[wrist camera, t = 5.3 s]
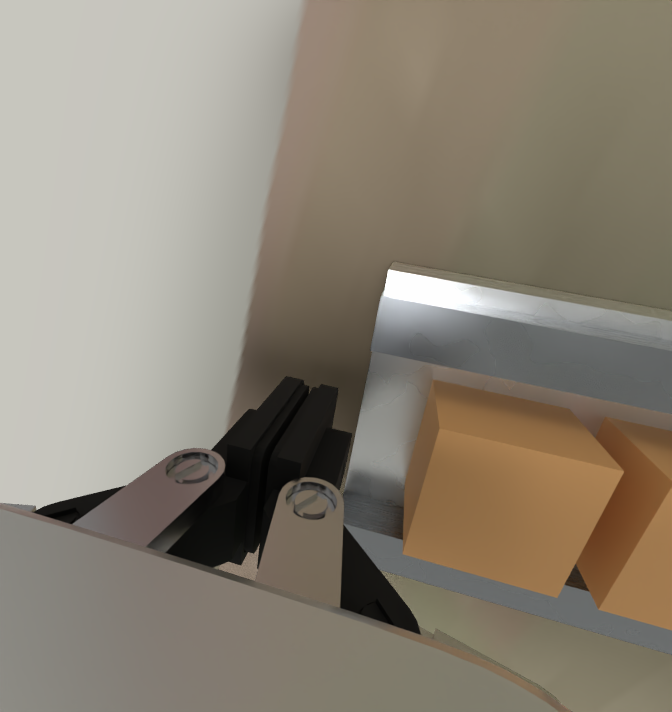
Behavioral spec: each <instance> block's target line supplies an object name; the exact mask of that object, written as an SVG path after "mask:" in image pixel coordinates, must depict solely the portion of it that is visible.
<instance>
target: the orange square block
mask: <svg viewBox="0 0 672 712" xmlns="http://www.w3.org/2000/svg"><path fill="white" fill-rule="evenodd" d="M595 439H596V440H597V441H598V442H599V443H600V444H601V445H602V447H603V448H604V449H605V450H606V451H607V452H608V453H609V455H610V456H611V457H612V458H613V459H614V460H615V461H616V463H617V464H618V465H619V466H620V467H621V468H622V469H623V470H624V473H623V475H622V477H621V479H620V481H619V482H618V484H617V486H616V488H615V490H614V492H613V494H612V496H611V498H610V499H609V501H608V503H607V505H606V507H605V509H604V511H603V513H602V515H601V516H600V518H599V520H598V522H597V524H596V526H595V528H594V530H593V532H592V533H591V535H590V537H589V539H588V541H587V543H586V545H585V547H584V549H583V550H582V552H581V554H580V556H579V558H578V560H577V562H576V565H577V567H578V569H579V571H580V573H581V575H582V577H583V579H584V581H585V583H586V585H587V587H588V590H589V592H590V594H591V596H592V598H593V600H594V602H595V604H596V606H597V608H598V610H601V611H605V612H608V613H612V614H615V615H619V616H622V617H626V618H630V619H633V620H637V621H640V622H644V623H647V624H651V625H654V626H658V627H661V628H665V629H668V630H672V431H669V430H665V429H660V428H655V427H651V426H646V425H642V424H637V423H632V422H628V421H623V420H619V419H614V418H609V417H605V418H604V420H603V423H602V425H601V427H600V429H599V431H598V433H597V435H596V437H595Z"/></svg>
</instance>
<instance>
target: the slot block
mask: <svg viewBox="0 0 672 712" xmlns="http://www.w3.org/2000/svg"><path fill="white" fill-rule="evenodd" d="M370 351H372V355H371V360H370V365H369V370H368V375H367V380H366V385H365V390H364V395H363V400H362V405H361V410H360V415H359V420H358V425H357V429H356V434H355V439H354V444H353V449H352V454H351V459H350V464H349V469H348V474H347V479H346V484H345V489H344V493H343V501H344V520H343V524H344V525H345V527H346V528H347V529H348V531H349V532H350V533H351V534H352V536H353V537H354V538H355V540H356V541H357V542H358V543H359V545H360V546H361V547H362V549H363V550H364V551H365V552H366V554H367V555H368V556H369V557H370V559H371V560H372V561H373V563H374V564H375V565H376V566H377V568H378V569H379V570H382V571H386V572H389V573H392V574H396V575H399V576H403V577H406V578H410V579H413V580H416V581H420V582H423V583H427V584H430V585H434V586H437V587H441V588H444V589H447V590H451V591H454V592H458V593H461V594H465V595H468V596H471V597H475V598H478V599H482V600H485V601H489V602H492V603H496V604H499V605H502V606H506V607H509V608H513V609H516V610H520V611H523V612H526V613H530V614H533V615H537V616H540V617H544V618H547V619H551V620H554V621H557V622H561V623H564V624H568V625H571V626H575V627H578V628H581V629H585V630H588V631H592V632H595V633H599V634H602V635H605V636H609V637H612V638H616V639H619V640H623V641H626V642H630V643H633V644H636V645H640V646H643V647H647V648H650V649H654V650H657V651H660V652H664V653H667V654H671V655H672V630H668V629H665V628H661V627H658V626H654V625H651V624H647V623H644V622H640V621H637V620H633V619H630V618H626V617H622V616H619V615H615V614H612V613H608V612H605V611H601V610H598V608H597V606H596V604H595V602H594V600H593V598H592V596H591V594H590V592H589V590H588V587H587V585H586V583H585V581H584V579H583V577H582V575H581V573H580V571H579V569H578V567H577V565H576V564H575V565H574V567H573V569H572V571H571V573H570V575H569V577H568V579H567V581H566V582H565V584H564V586H563V588H562V590H561V592H560V594H559V596H558V598H555V597H552V596H548V595H545V594H541V593H538V592H534V591H531V590H527V589H524V588H520V587H516V586H513V585H509V584H506V583H502V582H499V581H495V580H492V579H488V578H485V577H481V576H478V575H474V574H470V573H467V572H463V571H460V570H456V569H453V568H449V567H446V566H442V565H439V564H435V563H432V562H428V561H425V560H421V559H417V558H414V557H410V556H407V555H403V522H404V489H405V480H406V476H407V473H408V469H409V465H410V462H411V458H412V454H413V451H414V447H415V443H416V440H417V436H418V432H419V429H420V425H421V421H422V418H423V414H424V410H425V407H426V403H427V399H428V396H429V392H430V388H431V385H432V381H433V379H434V380H439V381H443V382H448V383H453V384H457V385H462V386H466V387H471V388H476V389H480V390H485V391H490V392H494V393H499V394H503V395H508V396H513V397H517V398H522V399H526V400H531V401H536V402H540V403H545V404H549V405H554V406H559V407H563V408H568V409H570V410H571V411H572V412H573V414H574V415H575V416H576V417H577V418H578V419H579V420H580V422H581V423H582V424H583V425H584V426H585V427H586V428H587V429H588V431H589V432H590V433H591V434H592V435H593V436H594V437H596V435H597V433H598V431H599V429H600V427H601V425H602V423H603V420H604V418H605V417H609V418H614V419H619V420H623V421H628V422H632V423H637V424H642V425H646V426H651V427H655V428H660V429H665V430H669V431H672V311H670V310H665V309H659V308H653V307H648V306H642V305H636V304H631V303H625V302H619V301H614V300H608V299H602V298H597V297H591V296H586V295H580V294H574V293H569V292H563V291H557V290H552V289H546V288H540V287H535V286H529V285H523V284H518V283H512V282H506V281H501V280H495V279H490V278H484V277H478V276H473V275H467V274H461V273H456V272H450V271H444V270H439V269H433V268H427V267H422V266H416V265H411V264H405V263H399V262H393V263H392V265H391V267H390V268H389V271H388V276H387V281H386V286H385V289H384V291H383V293H382V295H381V299H380V304H379V309H378V314H377V319H376V324H375V329H374V334H373V339H372V344H371V349H370Z"/></svg>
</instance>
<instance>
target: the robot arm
mask: <svg viewBox="0 0 672 712" xmlns="http://www.w3.org/2000/svg"><path fill="white" fill-rule="evenodd" d="M308 394H309V395H308ZM337 395H338V388H336V387H331V386H327V385H323V384H321V385H320V386H319V388H315V387H313V388H312V390H311V391H310V393H309V386H307V385H304V380H301V379H296V378H292V377H287V376H286V377H285V378H284V379H283V380H282V382H281V383H280V384H279V385H278V386H277V387H276V389H275V390H274V391H273V392H272V393H271V394H270V395H269V397H268V398H267V399H266V400H265V401H264V402H263V404H262V405H261V406H260V407H259V408H258V409H257V410H254V409H249V410H248V411H247V412H246V413H245V414H244V415H243V416H242V417H241V418H240V419H239V420H238V421H237V422H236V424H235V425H234V426H233V427H232V428H231V429H230V430H229V431H228V432H227V433H226V434H225V436H224V437H223V438H222V439H221V440H220V441H219V442H218V443H217V444H216V445H215V446H214V448H213V449H212V450H208V449H203V448H202V449H201V448H191V449H184V450H181V451H178V452H175V453H173V454H171V455H169V456H168V457H166V458H165V459H163V460H162V461H160V462H159V463H158V464H156V465H155V466H153V467H152V468H151V469H149V470H148V471H146V472H145V473H144V474H142V475H141V476H139V477H138V478H136V479H135V480H134V481H133V482H131V483H129V484H128V485H127V486H122V487H119V488H114V489H110V490H106V491H102V492H98V493H93V494H89V495H86V496H81V497H77V498H73V499H69V500H65V501H60V502H57V503H54V504H50V505H47V506H44V507H42V508H40V509H38V510H36V506H32V505H19V504H6V503H0V712H572V711H571V710H569V709H568V708H566V707H565V706H564V705H562V704H561V703H560V702H559V701H558V700H557V698H556V697H555V696H553V695H552V694H551V693H549V692H548V691H546V690H545V689H544V688H542V687H541V686H540V685H538V684H536V683H534V682H532V681H531V680H529V679H527V678H525V677H523V676H521V675H520V674H518V673H516V672H514V671H512V670H511V669H509V668H507V667H505V666H503V665H501V664H500V663H498V662H496V661H494V660H492V659H491V658H489V657H487V656H485V655H483V654H481V653H480V652H478V651H476V650H474V649H472V648H470V647H469V646H467V645H465V644H463V643H461V642H460V641H458V640H456V639H454V638H452V637H450V636H449V635H447V634H445V633H443V632H441V631H440V630H438V629H435V632H434V634H432V633H430V632H428V631H426V630H425V629H423V628H421V627H419V626H418V623H417V620H416V619H415V617H414V615H413V614H412V612H411V610H410V609H409V607H408V606H407V605H406V604H405V602H404V601H403V600H402V598H401V597H400V596H399V595H398V593H397V592H396V591H395V589H394V588H393V587H392V586H391V584H390V583H389V582H388V581H387V579H386V578H385V577H384V575H383V574H382V573H381V572H380V570H379V569H378V568H377V566H376V565H375V564H374V563H373V561H372V560H371V559H370V557H369V556H368V555H367V554H366V552H365V551H364V550H363V549H362V547H361V546H360V545H359V543H358V542H357V541H356V540H355V538H354V537H353V536H352V534H351V533H350V532H349V531H348V529H347V528H346V527H345V525H344V524H343V520H344V501H343V497H342V495H341V493H340V492H339V490H340V486H341V483H342V479H343V475H344V471H345V467H346V462H347V457H348V452H349V447H350V442H351V436H352V433H348V432H344V431H340V430H336V429H332V424H333V418H334V412H335V407H336V401H337ZM259 544H260V546H259ZM258 546H259V556H258V565H257V568H258V572H257V575H256V579H255V581H253V580H250V579H247V578H244V577H240V576H237V575H234V574H231V573H228V572H224V571H221V570H219V567H220V565H221V564H224V563H226V562H232V563H235V564H238V565H242V563H243V561H244V559H245V557H246V555H247V553H248V552H250V553H255V551H256V550H257V548H258Z"/></svg>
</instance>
